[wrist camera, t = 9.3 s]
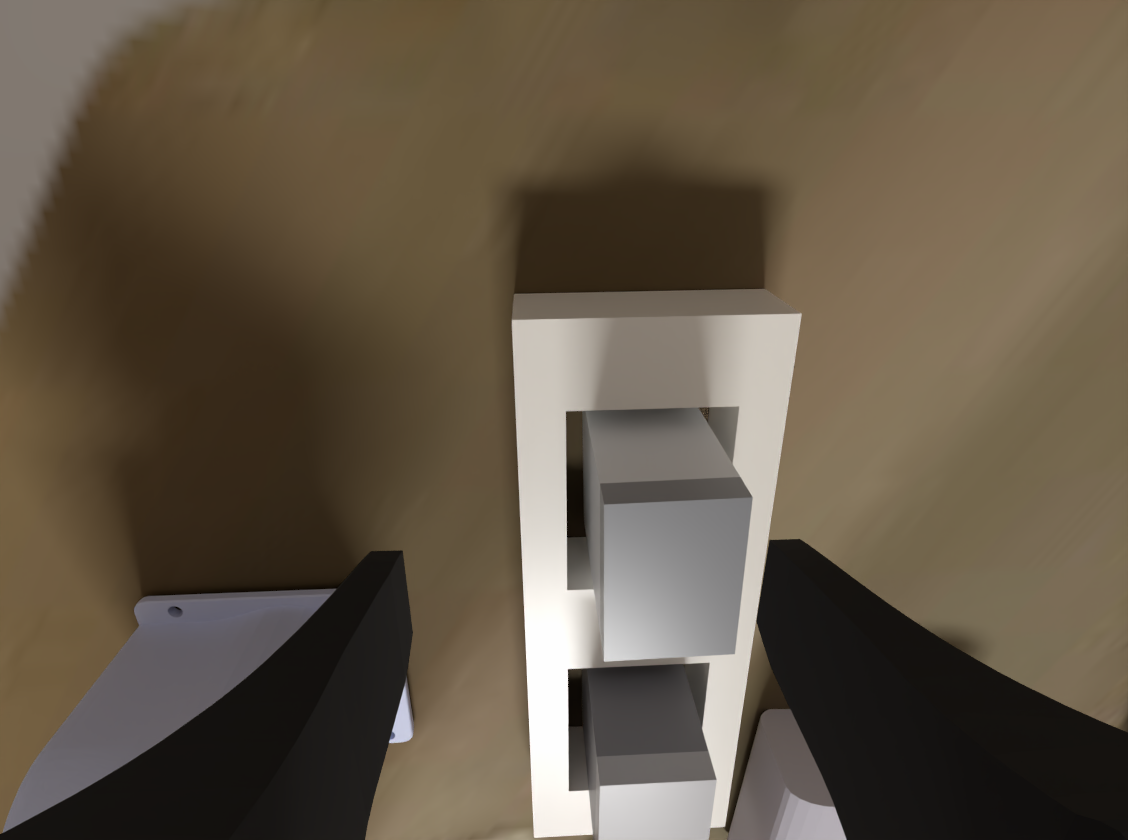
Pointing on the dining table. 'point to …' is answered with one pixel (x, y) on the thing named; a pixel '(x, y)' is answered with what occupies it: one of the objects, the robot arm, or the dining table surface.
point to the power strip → (561, 565)
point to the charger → (783, 788)
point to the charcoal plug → (645, 755)
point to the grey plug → (663, 533)
